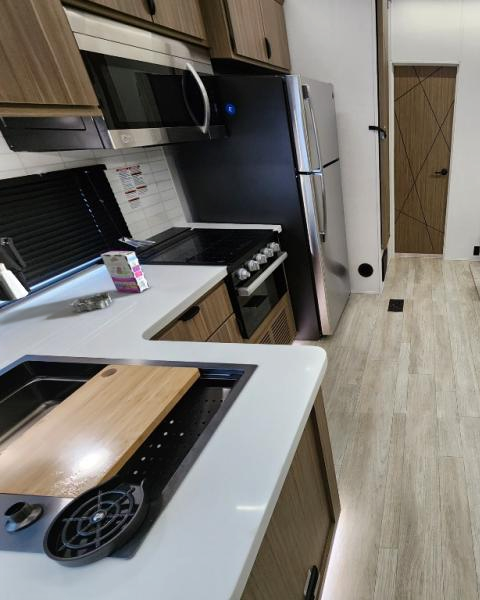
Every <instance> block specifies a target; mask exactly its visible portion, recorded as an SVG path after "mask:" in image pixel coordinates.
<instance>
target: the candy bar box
mask: <svg viewBox="0 0 480 600" xmlns="http://www.w3.org/2000/svg"><path fill="white" fill-rule="evenodd" d="M100 257H101V259H102V261H103V264H104V265H105V268H106V270H107V272H108V274H109V277H110V278H111V280H112V282H113V285H114V287H115V289H116V291H117V292H123V293H124V292H126V293H142V292H145V291H147V290H148V289H149V288H150V286H149V283H148V280H147V278H146V276H145V273H144V271H143V268H142V266H141V263H140V261H139V259H138V256H137V254H136V251H133V250H132V251H130V250H110V251H107V252H104V253H101V254H100Z"/></svg>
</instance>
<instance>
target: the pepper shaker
mask: <svg viewBox="0 0 480 600" xmlns="http://www.w3.org/2000/svg"><path fill="white" fill-rule="evenodd" d="M12 273H13V272H11V271H10V270H9V269H7V267H6V266H5V265H4V264H3V263H1V262H0V281H1V282H2V283H3V285H4V286H5V288H6V289H7V291H8V292H9V294H10V296H11V297H12V299H13V300H12V301H16V300H19V299H22V298H26V296H28V295H29V292H27V291H26V290H25V288H24V287H23V286H22V285H21V284H20V282H19V281H18V280H17V279H16V277H15V276H14V275H13V274H12Z"/></svg>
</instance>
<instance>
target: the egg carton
mask: <svg viewBox="0 0 480 600" xmlns="http://www.w3.org/2000/svg"><path fill="white" fill-rule="evenodd" d="M109 294H110V292H109V291H103V292H100V293H99V294H95V295H93V296H88V297H84V298H82V297H81V298H77V299H75V300H74V301H72V302H71V303H69V305H71V306H72V307H73V309H74V311H75V312H77V313H81V312H83V311H87V310H88V311H93V310H95V309H99V310H102V309H105V308H107V307H109V304H110V303H111V304H112V302H113V300H112V299H111V297H110V296H109Z"/></svg>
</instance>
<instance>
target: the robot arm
mask: <svg viewBox="0 0 480 600" xmlns="http://www.w3.org/2000/svg"><path fill="white" fill-rule="evenodd" d="M0 263H3V264H4V266H5V268H6V269H7V270H9V271H11V272H12V274H13V275H14V276H15V277H16V279H17V280H18V281H19V282H20V284H21V285H22V286H23V287H24V288H25V290H26V291H27V292H28V293H30V292H32V289H31V288H30V286H29V285H28V283H27V277H26V276H25V274H24V272H25V271H26V270H25V268H27V264H26V262H25V261H24V260H23V258H22V256H21V254H20V253H19V252H18V250H17V248H16V247H15V244H14V242H13V239H12V237H0ZM0 301H1V302H12V301H14V300H13V299H12V297H11V296H10V294H9V292H8V291H7V289H6V288H5V286H4V285H3V283H2V282H1V281H0Z"/></svg>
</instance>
